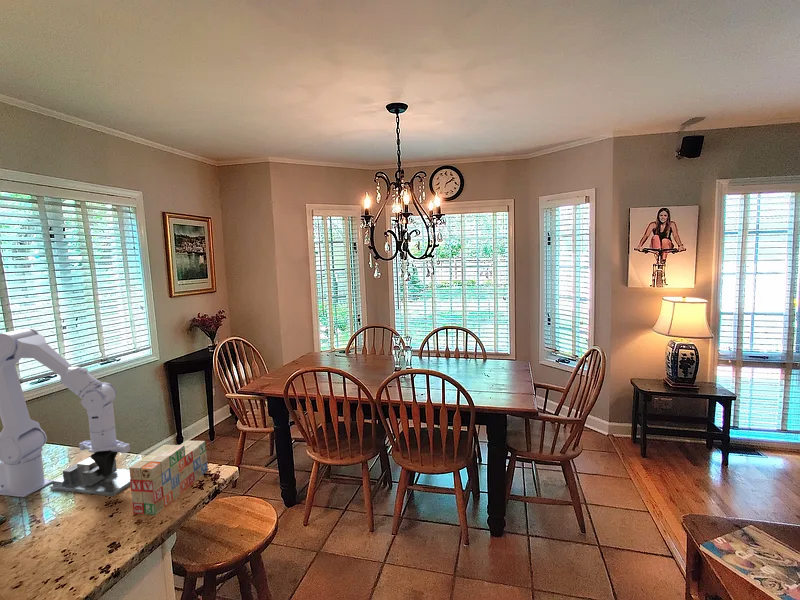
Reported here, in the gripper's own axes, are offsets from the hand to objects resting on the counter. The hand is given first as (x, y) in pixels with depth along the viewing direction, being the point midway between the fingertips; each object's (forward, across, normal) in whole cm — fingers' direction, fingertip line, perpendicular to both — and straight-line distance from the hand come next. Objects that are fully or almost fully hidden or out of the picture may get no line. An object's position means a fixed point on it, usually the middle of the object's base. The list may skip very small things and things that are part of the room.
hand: (107, 475), depth 115 cm
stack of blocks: (+3, +21, 0) cm, 21 cm away
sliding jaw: (+1, -2, 0) cm, 2 cm away
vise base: (+2, -3, 0) cm, 4 cm away
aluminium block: (+1, -6, 0) cm, 6 cm away
